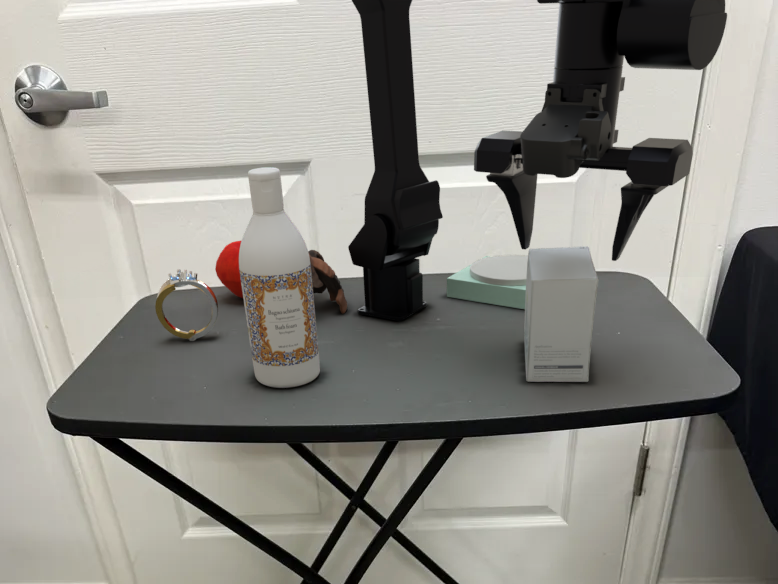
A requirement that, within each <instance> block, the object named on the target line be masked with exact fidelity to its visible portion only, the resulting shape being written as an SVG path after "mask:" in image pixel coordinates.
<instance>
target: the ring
mask: <svg viewBox="0 0 778 584" xmlns="http://www.w3.org/2000/svg"><path fill="white" fill-rule="evenodd" d="M167 275H168V279H166V280H165V281H164V282H163V283H162V284H161V286H160V288H159V290H158V292H157V296H156V300H155V304H154V307H155V314H156V316H157V319H158V321H159V322H160V324H161V325H162V327H163V328H164V329H165V330H166V331H167V332H169V333H170V334H171V335H173V336H175V337H178V338H180V339H186V340H189V341H190V342H195V341H196V340H197V339H200V338H202V337H204V336H206V335H207V334H208V333H210V331H211V330H212V329H213V328H214V326H215V324H216V322H217V320H218V316H219V303H218V299H217V297H216V294H215V292H214V290H212V288H211V287H210V286H209V285H208V284H206V283H205V282H203V281H202V280H200V279H198V272H194V273H193V271H192V270H189V273H188V270H187V269H184V271H181V269H179V268H178V269H176V274H175V275H172V273H171V272H170V273H168V274H167ZM186 286H192V287H194V288H197V289H198V290H200V291H201V292H203V294H205V296H206V297H207V299H208V301H209V303H210V307H211V315H210V316H211V317H210V320H209V322H208V323H207V324H206V325H205V326H204V327H203V328H201V329H200V330H199V329H198V330H195V329H190V330H189V331H185V330H181V329H179V328H177V327H176V326H174V325H173V324H172V323H171V322H170V321H169V320H168V319H167V317H166V315H165V313H164V307H163V306H164V301H165V299H166V298H167V296H169V295H170V294H171V293H172V292H174V291H176V288H183V287H186Z"/></svg>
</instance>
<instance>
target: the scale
mask: <svg viewBox="0 0 778 584" xmlns="http://www.w3.org/2000/svg"><path fill="white" fill-rule="evenodd" d="M527 263H528V254H499V255H492V256H491V255H485V256H483V257H482V258H480V259H477V260H475V261H474V262H472V263H471V264H469V265H467V266H466V267H464V268H462V269H461V270H459V271H457V272H455V273H453V274H452V275H449V277H447V278H446V298H453V299H459V300H464V301H471V302H476V303H483V304H489V305H497V306H501V307H508V308H514V309H521V310H525V296H526V276H527Z"/></svg>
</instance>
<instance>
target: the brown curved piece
mask: <svg viewBox="0 0 778 584" xmlns="http://www.w3.org/2000/svg"><path fill="white" fill-rule="evenodd" d="M308 253H309V257H310V263H311V274H312V284H313V295H314V294H323V293H324V292H325V291H327V293H328V295H329V300H330V301H331V302H336V304H337V305H339V311H340V313H341V314H345V313H346V312H347V309H348V301H347V299H346V296H345V290H344V289H343V286H342V285H341V281H340V280H339V277H338V275H337V274H336V271H335V270H334V269H333V268H332V267H331V266H330V265H329V264H328V263H327V262H326V261H325V259H324V256H323V255H322V254H321V253H320V252H319V251H318V250H315V249H309V250H308Z"/></svg>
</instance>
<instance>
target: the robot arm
mask: <svg viewBox="0 0 778 584" xmlns="http://www.w3.org/2000/svg"><path fill="white" fill-rule="evenodd" d="M351 2H352V4H353V5H354V7H355V9H356V11H357V13H358V14H359V18H360V24H361V32H362V33H361V34H362V45H363V56H364V67H365V76H366V77H365V78H366V79H365V80H366V87H367V88H366V89H367V100H368V110H369V120H370V121H369V122H370V131H371V132H370V133H371V140H372V149H373V150H372V152H373V163H374V172H373V175H372V177H371V180H370V183H369V185H368V188H367V190H366V194H365V196H364V219H363V220H364V221H363V225H362V227H361V228H360V230H359V231H358V232H357V233H356V235H355V236H354V237H353V239H352V241H351V242H350V243H349V245H348V247H347V248H348V253H349V256H350V259H351V263H352V265H354V266H357V267H360V268H362V274H363V275H362V276H363V294H364V305H363V306H361V307H359V308H358V309H357V313H358V315H364V316H370V317H375V318H380V319H386V320H391V321H396V322H401V321H404V320H406V319H407V318H409V317H411V316H412V315H414V314H416V313H417V312H419V311H421V310H422V309H424V308H426V307H427V305H428V304H427V303H428V302H427V301H425V300H424V284H423V283H424V281H423V280H424V277H423V273H422V272H420V270H421V269H420V259H419V258H420V257H425V256H428V255H429V253H430V249H431V245H432V243H433V239H434V237H435V235H437V234H438V231H439V227H440V225H439V224H440V220H441V219H443V218H444V216H443V213H442V210H441V204H440V197H441V186H440V183H439V181H438V180H432V181H430V180H429V179H428V177H427V175H426V174H425V172H424V170H423V169H422V167H421V165H420V159H419V157H420V156H419V142H418V141H419V140H418V127H417V111H416V98H415V97H416V96H415V82H414V81H415V80H414V67H413V52H412V37H411V22H410V21H411V20H410V8H411V5H412V3H413V0H351ZM536 2H537V4H542V5H543V4H558V13H557V14H558V15H557V26H556V37H555V38H556V39H555V51H554V65H553V67H554V68H553V76H552V77H553V78H552V82H548V83H547V84H546V90H545V93H544V103H543V105H542V109H541V111H540V112H538V113H536V114H535V115H534V117H533V118H532V119H531V120H530V122H529V123H528V125H526V126H525V128H524V129H523V130H522V131H519V130H518V131H517V130H500V131H497V132H495V133H492V134H489V135H486V136H484V137H481V139H479V141H478V142H477V144H476V147H475V149H474V151H473V152H474V153H473V154H474V156H473V171H474V172H476V173H488V174H486V175H485V178H486V181H487V182H488V183H494V184H495V185H496V186H497V187H498V188H499V190H500V191H501V192H502V193H503V194H504V196H505V200H506V202H507V204H508V206H509V209H510V212H511V216H512V220H513V224H514V226H515V230H516V233H517V237H518V241H519V245H520V248H521V249H522V250H527V249H530V245H531V240H532V235H533V230H534V218H535V209H536V208H535V207H536V195H537V185H538V175H546V176H555V177H556V178H557V179H566V178H570V177H573V176H574V175H575V174H577V173H578V171H579V170H580V169H591V170H592V169H593V170H607V171H618V172H619V171H620V172H621V171H622V172H623V171H624V172H625V174H626V176H627V177H628V179H629V180H630V182H627V184H624V185H623V186H620V196H621V198H620V200H621V205H620V210H619V214H618V218H617V222H616V223H617V225H616V227H615V232H614V238H613V242H612V247H611V248H612V252H611V261H613V262H617V260H619V259H620V257H621V255H622V253H623V252H624V250H625V248H626V246H627V244H628V241H629V240H630V238H631V236H632V234H633V233H634V230H635V228H636V226H637V224H638V222H639V221H640V218H641V217H642V215H643V213H644V212H645V210H646V209H647V207H648V205H649V204H650V202H651V201H652V199H653V198H654V196H655V195H657V194H660V192H662V191H664V190H665V189H667V188H668V187H670V186H674V185H675V184H677V183H678V182H679V181H681V180H683V179H684V178H685V177H687V176H689V175H690V171H691V167H692V160H693V155H694V153H693V150H694V149H693V146H692V144H691V143H690V141H689V139H680V138H661V137H660V138H659V137H648V138H646V139H645V140H642V141H640V142H639V143H636V144H635V145H632V147H627V146H614V144H616V143H618V137H619V129H616V123H617V117H618V116H617V115H618V108H619V100H620V92H622V91H625V90H624V89H625V82H626V76H622V75H623V67H624V59H625V61H626V63H627V64H628V66H629V67H630V68H634V69H655V70H682V71H683V70H684V71H685V70H687V71H702V70H703V69H705V68H706V67H708V66H709V64H710V63H712V61H713V59H714V58H715V56H716V54H717V52H718V50H719V48H720V46H721V43H722V41H723V37H724V34H725V30H726V26H727V20H728V13H727V12H726V0H536Z"/></svg>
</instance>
